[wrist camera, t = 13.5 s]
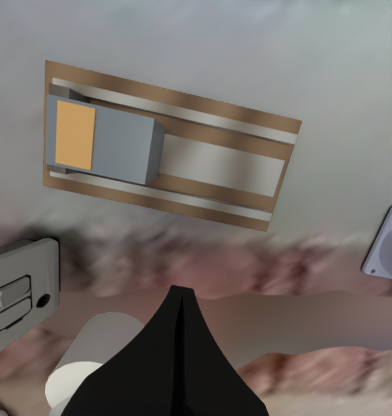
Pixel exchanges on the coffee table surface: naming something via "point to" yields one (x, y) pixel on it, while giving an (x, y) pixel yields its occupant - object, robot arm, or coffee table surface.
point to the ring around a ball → (3, 413)
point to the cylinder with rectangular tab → (89, 355)
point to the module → (103, 140)
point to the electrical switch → (27, 286)
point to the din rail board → (185, 150)
